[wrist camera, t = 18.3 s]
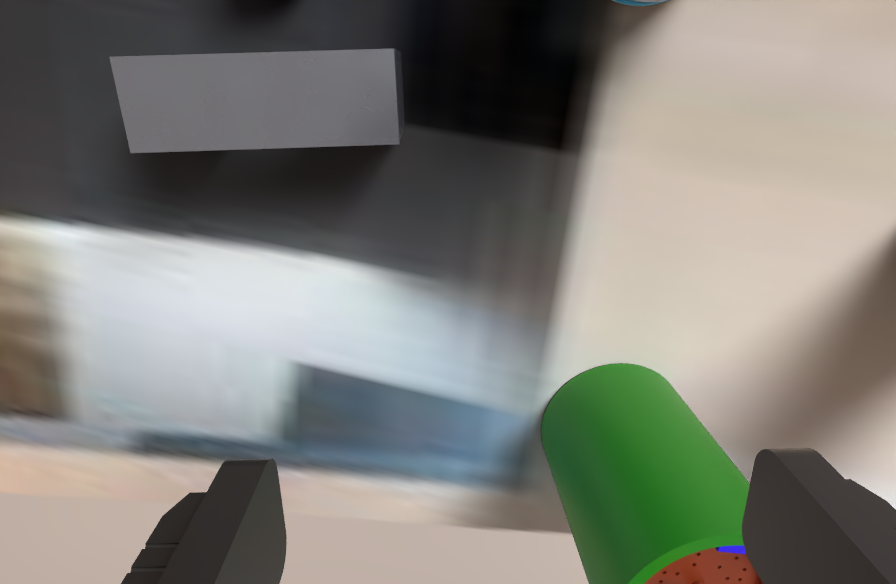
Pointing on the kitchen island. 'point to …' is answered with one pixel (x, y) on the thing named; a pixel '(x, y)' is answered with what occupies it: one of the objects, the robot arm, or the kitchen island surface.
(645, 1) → the beverage bottle
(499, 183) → the kitchen island surface
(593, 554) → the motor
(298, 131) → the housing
